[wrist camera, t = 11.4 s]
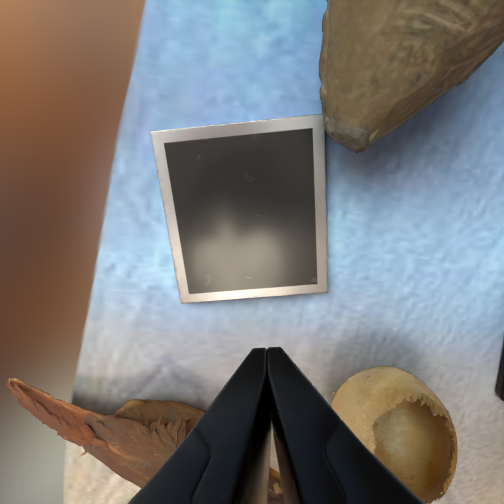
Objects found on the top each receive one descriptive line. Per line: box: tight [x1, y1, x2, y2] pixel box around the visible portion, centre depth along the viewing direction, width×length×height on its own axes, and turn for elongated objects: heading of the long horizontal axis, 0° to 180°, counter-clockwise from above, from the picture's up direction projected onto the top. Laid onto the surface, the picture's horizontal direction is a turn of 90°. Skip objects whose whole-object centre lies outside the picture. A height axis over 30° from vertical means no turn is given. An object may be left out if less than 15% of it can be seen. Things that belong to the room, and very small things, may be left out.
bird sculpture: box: [6, 378, 285, 504], centre depth 22 cm, size 7×25×5 cm, turn 81°
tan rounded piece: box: [331, 366, 457, 504], centre depth 20 cm, size 8×8×7 cm
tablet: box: [150, 114, 328, 303], centre depth 19 cm, size 11×10×1 cm
